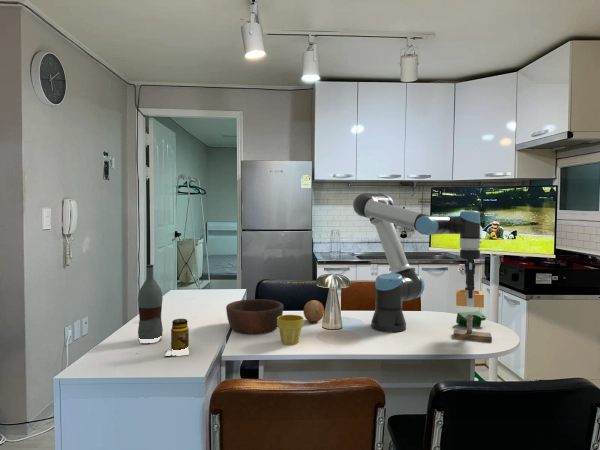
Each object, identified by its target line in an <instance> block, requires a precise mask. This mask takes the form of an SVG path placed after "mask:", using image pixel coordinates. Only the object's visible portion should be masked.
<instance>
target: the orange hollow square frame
mask: <svg viewBox="0 0 600 450" xmlns="http://www.w3.org/2000/svg"><path fill="white" fill-rule="evenodd" d="M455 301H456V303H455V304H456V305H455V306H456V307H457V306H458V307H468V308H469V306H467V290H465V289H461V288H460V289H456V291H455ZM484 307H485V294H484V292H483V290H478V289H477V290H476V289H474V307H473V308H480V309H481V308H483V309H484Z"/></svg>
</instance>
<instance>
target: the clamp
mask: <svg viewBox="0 0 600 450" xmlns="http://www.w3.org/2000/svg"><path fill="white" fill-rule="evenodd" d="M468 314H471V315H472V316H473V320H472V326H477V327H478V328H480V327H481V325H482V321H486V319H487V315H484V314H483V313H481V312H480V311H478V310H476V311H463V312H457V314H456V320H455V322H456V324H458V326H460V327H461V326H467V318H466V316H467V315H468Z"/></svg>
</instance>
